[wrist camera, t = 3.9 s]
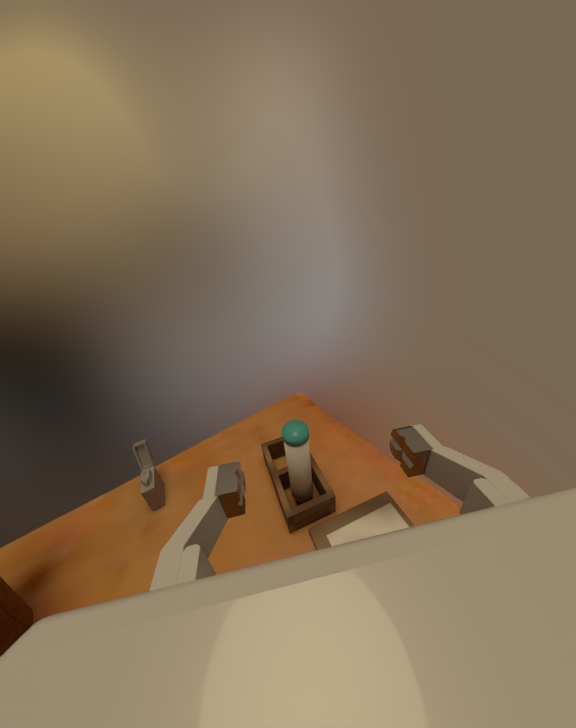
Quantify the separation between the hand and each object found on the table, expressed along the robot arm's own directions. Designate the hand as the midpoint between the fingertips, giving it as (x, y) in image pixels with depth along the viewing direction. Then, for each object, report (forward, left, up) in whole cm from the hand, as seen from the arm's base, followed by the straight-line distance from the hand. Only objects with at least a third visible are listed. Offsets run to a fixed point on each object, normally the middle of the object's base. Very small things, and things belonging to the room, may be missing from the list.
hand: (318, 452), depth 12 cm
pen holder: (+14, -2, -23) cm, 27 cm away
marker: (+11, -2, -23) cm, 25 cm away
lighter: (+22, +18, -23) cm, 37 cm away
